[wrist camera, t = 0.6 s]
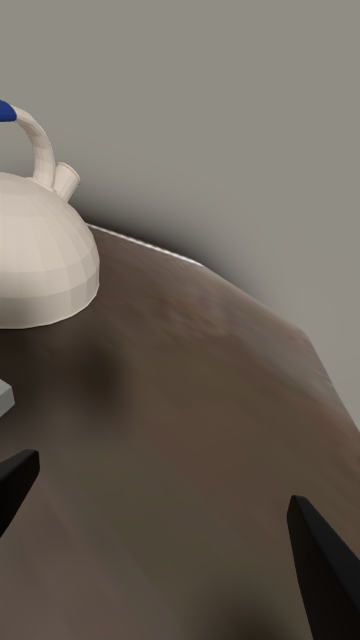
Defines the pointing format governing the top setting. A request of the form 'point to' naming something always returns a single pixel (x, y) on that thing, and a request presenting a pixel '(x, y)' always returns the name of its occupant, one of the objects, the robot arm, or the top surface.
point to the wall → (5, 397)
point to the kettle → (42, 239)
